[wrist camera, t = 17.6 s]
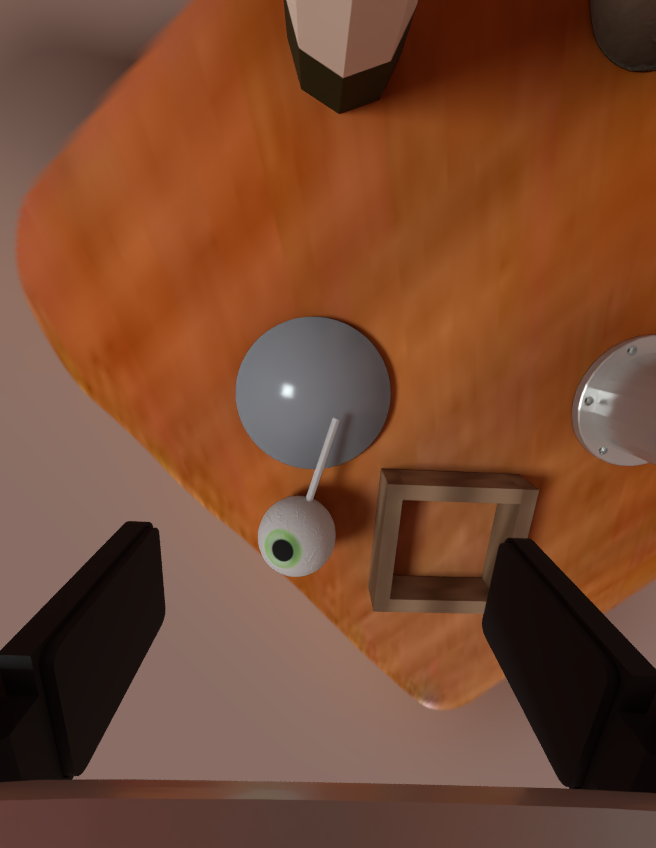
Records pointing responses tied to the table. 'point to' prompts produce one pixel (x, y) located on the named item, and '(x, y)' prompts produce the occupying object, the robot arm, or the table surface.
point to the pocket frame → (452, 487)
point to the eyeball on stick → (299, 527)
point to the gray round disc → (312, 391)
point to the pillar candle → (626, 32)
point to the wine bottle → (346, 47)
